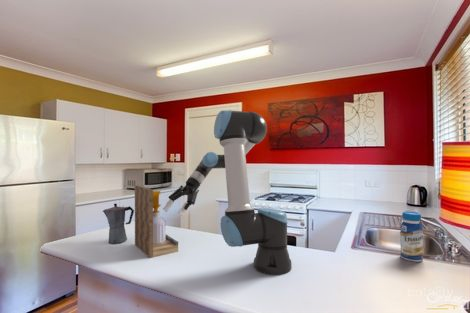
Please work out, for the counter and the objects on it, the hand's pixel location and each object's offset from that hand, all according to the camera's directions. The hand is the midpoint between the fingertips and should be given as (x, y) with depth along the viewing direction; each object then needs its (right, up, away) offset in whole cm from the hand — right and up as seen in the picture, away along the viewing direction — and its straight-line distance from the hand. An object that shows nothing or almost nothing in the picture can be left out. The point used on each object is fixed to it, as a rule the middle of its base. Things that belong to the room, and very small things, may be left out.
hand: (172, 212), depth 137 cm
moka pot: (-29, -16, +4) cm, 34 cm away
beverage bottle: (+109, -16, -21) cm, 112 cm away
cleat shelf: (-6, -16, -7) cm, 18 cm away
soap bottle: (-6, -13, -6) cm, 16 cm away
